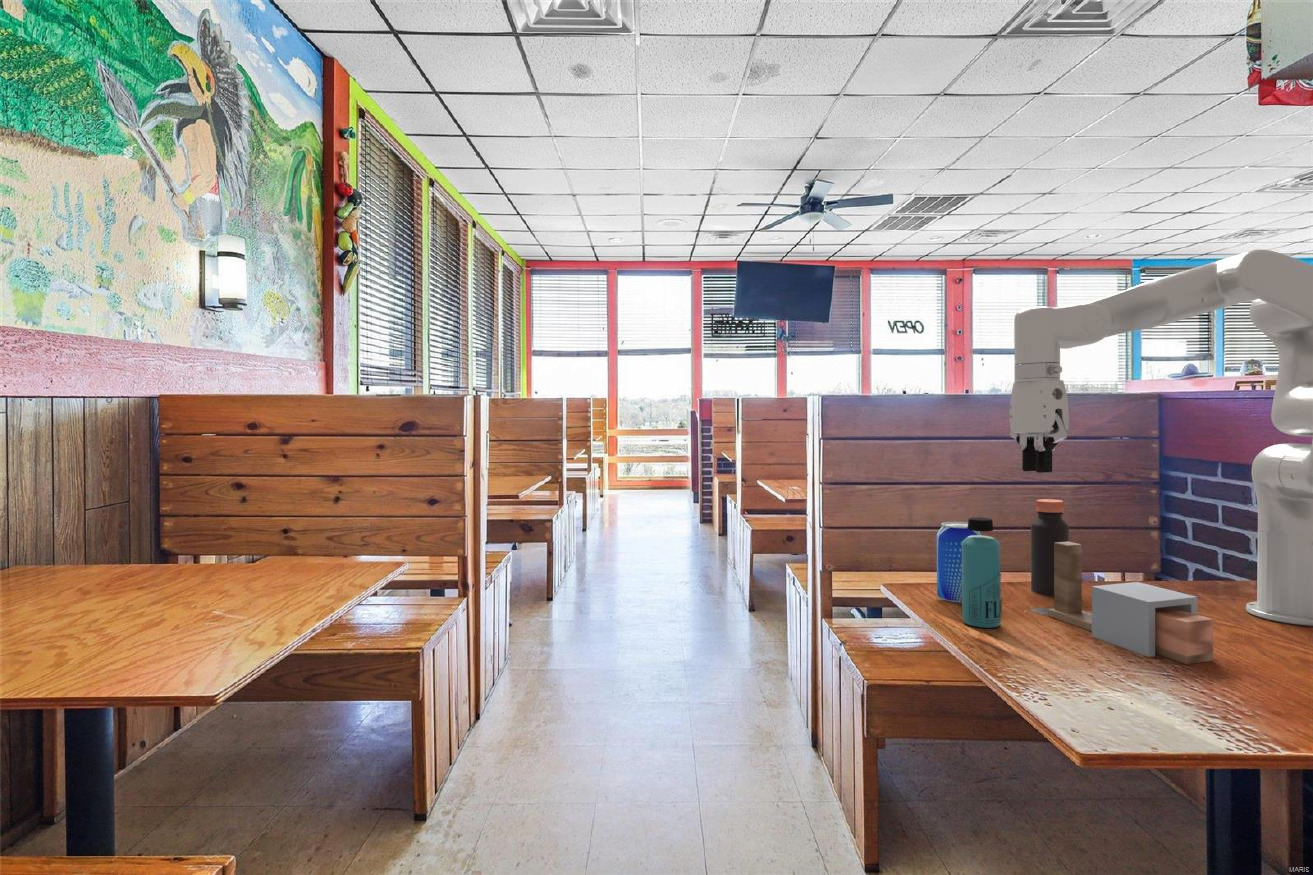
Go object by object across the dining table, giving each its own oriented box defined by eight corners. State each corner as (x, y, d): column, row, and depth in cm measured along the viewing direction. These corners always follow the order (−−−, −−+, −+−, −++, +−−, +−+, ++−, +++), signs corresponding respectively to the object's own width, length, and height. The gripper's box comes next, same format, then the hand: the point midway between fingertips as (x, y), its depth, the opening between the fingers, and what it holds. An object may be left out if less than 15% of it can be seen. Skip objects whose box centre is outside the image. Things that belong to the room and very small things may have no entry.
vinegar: (1025, 592, 145) (1025, 498, 144) (1060, 593, 144) (1060, 498, 143) (1039, 601, 138) (1039, 502, 137) (1075, 602, 137) (1075, 502, 136)
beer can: (937, 606, 136) (936, 526, 135) (937, 596, 143) (936, 520, 143) (984, 610, 133) (983, 528, 132) (981, 599, 140) (980, 521, 140)
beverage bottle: (985, 638, 116) (985, 521, 115) (952, 628, 122) (951, 517, 121) (1010, 632, 119) (1010, 518, 118) (977, 622, 125) (976, 513, 124)
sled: (1070, 613, 126) (1070, 540, 125) (1212, 660, 101) (1213, 570, 100) (1047, 615, 124) (1047, 542, 124) (1186, 664, 100) (1186, 573, 99)
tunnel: (1137, 632, 115) (1137, 581, 115) (1197, 651, 105) (1197, 596, 105) (1091, 637, 113) (1091, 586, 113) (1148, 658, 103) (1148, 602, 103)
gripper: (1090, 371, 122) (1090, 474, 122) (1021, 376, 137) (1021, 468, 138) (1055, 371, 120) (1055, 476, 120) (989, 376, 135) (989, 469, 136)
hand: (1037, 470), depth 129 cm, fingers open, 2 cm apart
